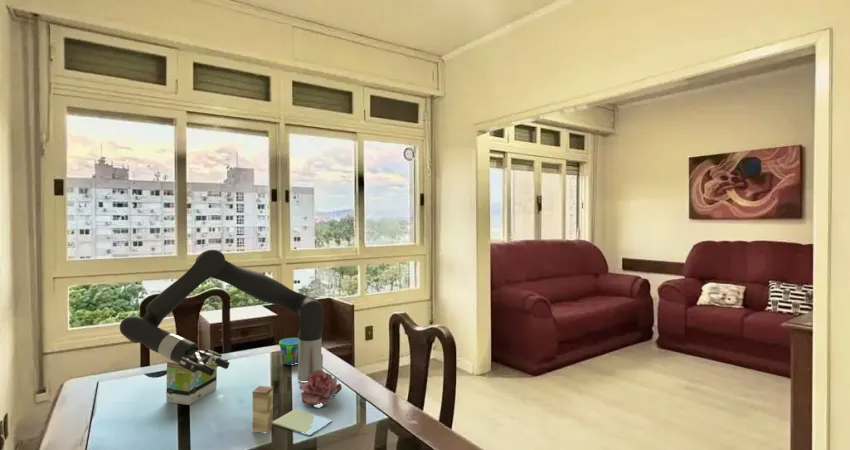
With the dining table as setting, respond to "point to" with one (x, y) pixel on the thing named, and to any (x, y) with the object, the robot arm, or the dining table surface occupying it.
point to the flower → (319, 388)
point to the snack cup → (289, 350)
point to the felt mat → (295, 421)
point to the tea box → (188, 383)
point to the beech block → (262, 409)
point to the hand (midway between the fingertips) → (221, 369)
